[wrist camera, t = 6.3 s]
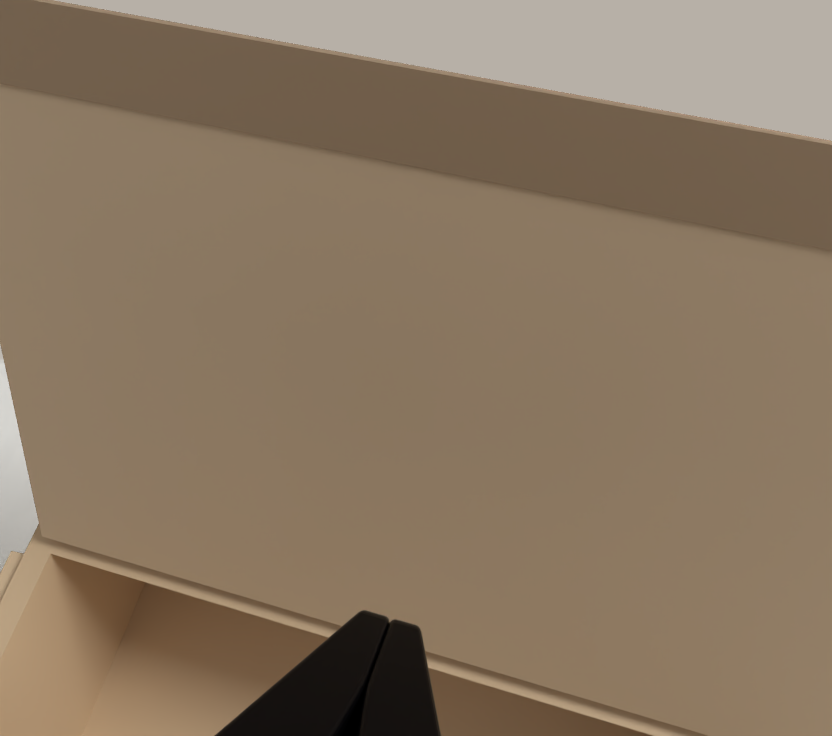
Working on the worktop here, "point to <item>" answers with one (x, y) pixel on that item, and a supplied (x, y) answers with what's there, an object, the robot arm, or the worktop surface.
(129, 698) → the carton
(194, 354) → the carton flap
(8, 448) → the worktop surface
